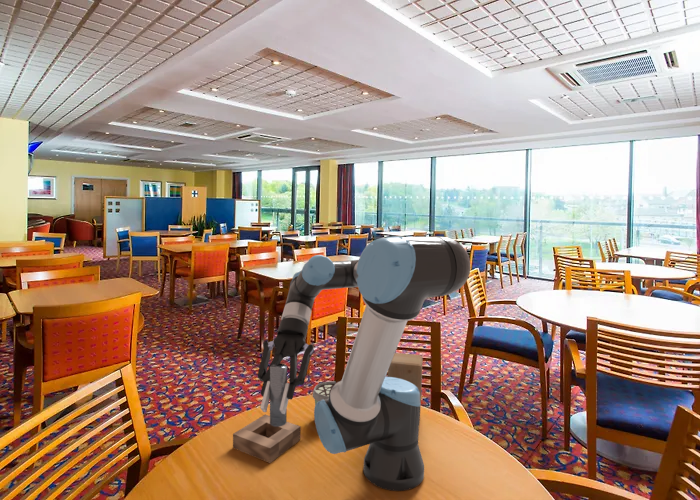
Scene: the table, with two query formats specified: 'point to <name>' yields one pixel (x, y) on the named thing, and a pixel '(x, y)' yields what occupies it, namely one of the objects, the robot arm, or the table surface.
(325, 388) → the food container
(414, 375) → the wooden block
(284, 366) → the peg
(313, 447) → the table surface
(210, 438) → the table surface
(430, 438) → the table surface
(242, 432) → the square block with hole
